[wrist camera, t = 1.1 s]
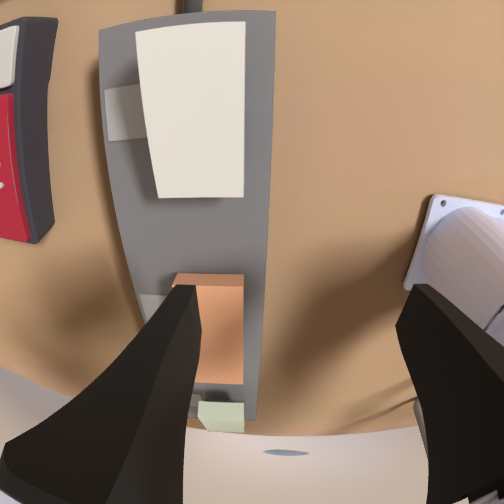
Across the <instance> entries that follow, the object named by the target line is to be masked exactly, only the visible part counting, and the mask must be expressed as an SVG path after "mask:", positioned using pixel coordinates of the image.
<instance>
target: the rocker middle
mask: <svg viewBox="0 0 504 504" xmlns="http://www.w3.org/2000/svg"><path fill="white" fill-rule="evenodd" d="M176 284H183V285H196V291H197V298H198V306H199V313H200V320H201V327H202V336H201V347H200V357H199V363H198V368H197V373H196V377H195V382H198V383H216V384H243V370H244V274H194V273H178V274H177V276H176V278H175V280H174V282H173V284H172V288H173V287H174V286H175V285H176Z"/></svg>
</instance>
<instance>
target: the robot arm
mask: <svg viewBox="0 0 504 504" xmlns="http://www.w3.org/2000/svg"><path fill="white" fill-rule="evenodd" d="M441 201H443V203H442V204H441ZM403 287H404V288H405V290H411V291H410V294H409V296H408V299H407V301H406V303H405V305H404V308H403V310H402V312H401V314H400V317H399V319H398V321H397V323H396V325H395V327H396V331H397V336H398V340H399V344H400V348H401V351H402V354H403V357H404V360H405V362H406V365H407V368H408V371H409V373H410V376H411V379H412V382H413V384H414V387H415V390H416V393H417V396H418V399H419V402H420V406H421V409H422V414H423V419H424V425H425V431H426V438H427V448H428V465H429V466H428V467H429V477H428V494H427V502H426V504H453V503H456V502H458V501H461V500H463V499H465V498H467V497H468V500H469V504H504V205H501V204H495V203H490V202H485V201H479V200H473V199H467V198H461V197H454V196H448V195H441V194H435V195H433V196H432V197H431V199H430V202H429V206H428V210H427V213H426V217H425V220H424V224H423V227H422V230H421V234H420V237H419V240H418V243H417V246H416V249H415V252H414V255H413V258H412V261H411V264H410V267H409V269H408V272H407V275H406V278H405V280H404V283H403ZM201 336H202V327H201V320H200V313H199V306H198V298H197V291H196V285H183V284H176V285H175V286H174V287H173V288H172V290H171V291H170V293H169V294H168V295H167V297H166V298H165V299H164V301H163V302H162V303H161V305H160V306H159V307H158V309H157V310H156V311H155V313H154V314H153V315H152V317H151V318H150V319H149V320H148V322H147V323H146V324H145V325H144V327H143V328H142V329H141V330H140V332H139V333H138V334H137V335H136V337H135V338H134V339H133V340H132V341H131V342H130V343H129V345H128V346H127V347H126V348H125V349H124V350H123V351H122V353H121V354H120V355H119V356H118V357H117V358H116V359H115V360H114V361H113V362H112V363H111V364H110V366H109V367H108V368H107V369H106V370H105V371H104V372H102V373H101V374H100V375H99V376H98V377H97V378H96V379H95V380H94V381H93V382H92V383H91V384H90V385H89V386H87V387H86V388H85V389H84V390H83V391H82V392H81V393H80V394H78V395H77V396H76V397H75V398H74V399H73V400H71V401H70V402H69V403H67V404H66V405H65V406H63V407H62V408H61V409H59V410H58V411H57V412H55V413H54V414H52V415H51V416H50V417H48V418H47V419H45V420H44V421H43V422H41V423H40V424H38V425H36V426H35V427H33V428H31V429H30V430H28V431H26V432H25V433H23V434H21V435H19V436H18V437H16V438H14V439H12V440H10V441H8V442H7V443H5V446H4V449H3V452H2V455H1V458H0V504H183V465H184V447H185V446H184V445H185V433H186V424H187V417H188V412H189V407H190V402H191V397H192V392H193V387H194V382H195V377H196V373H197V368H198V363H199V357H200V347H201Z"/></svg>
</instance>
